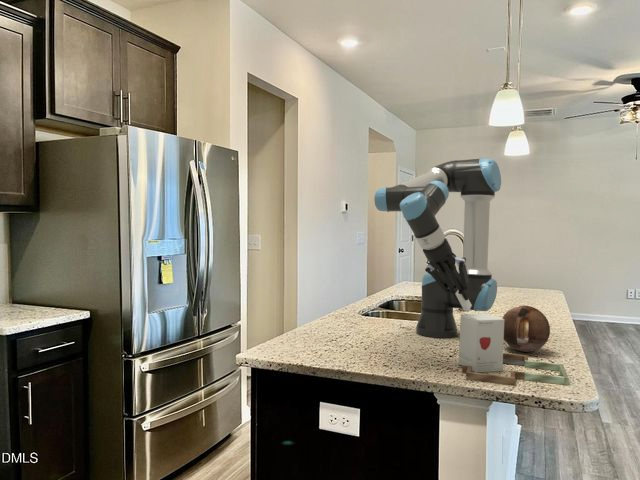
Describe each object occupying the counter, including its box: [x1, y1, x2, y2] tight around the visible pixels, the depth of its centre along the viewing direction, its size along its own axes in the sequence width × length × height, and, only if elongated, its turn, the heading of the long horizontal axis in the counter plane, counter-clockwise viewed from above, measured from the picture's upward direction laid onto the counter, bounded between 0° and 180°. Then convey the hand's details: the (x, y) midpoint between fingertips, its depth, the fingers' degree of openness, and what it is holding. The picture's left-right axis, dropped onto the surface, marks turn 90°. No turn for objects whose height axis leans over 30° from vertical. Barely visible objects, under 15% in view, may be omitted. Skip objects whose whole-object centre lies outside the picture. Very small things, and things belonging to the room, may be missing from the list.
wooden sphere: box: [502, 305, 551, 353], centre depth 160 cm, size 15×15×15 cm
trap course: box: [461, 352, 570, 386], centre depth 137 cm, size 26×26×2 cm
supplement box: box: [458, 313, 505, 373], centre depth 140 cm, size 9×9×15 cm
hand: (468, 308), depth 147 cm, fingers closed
